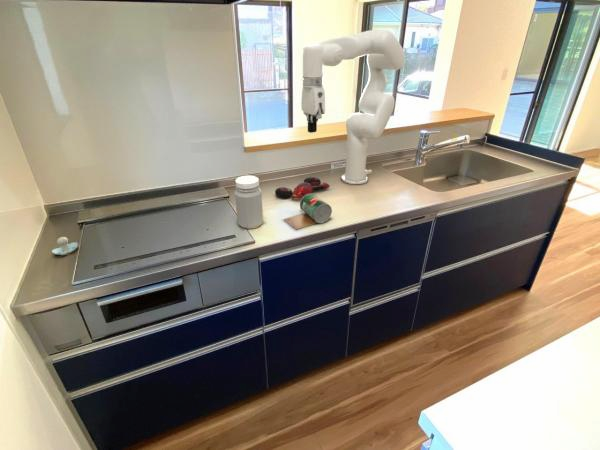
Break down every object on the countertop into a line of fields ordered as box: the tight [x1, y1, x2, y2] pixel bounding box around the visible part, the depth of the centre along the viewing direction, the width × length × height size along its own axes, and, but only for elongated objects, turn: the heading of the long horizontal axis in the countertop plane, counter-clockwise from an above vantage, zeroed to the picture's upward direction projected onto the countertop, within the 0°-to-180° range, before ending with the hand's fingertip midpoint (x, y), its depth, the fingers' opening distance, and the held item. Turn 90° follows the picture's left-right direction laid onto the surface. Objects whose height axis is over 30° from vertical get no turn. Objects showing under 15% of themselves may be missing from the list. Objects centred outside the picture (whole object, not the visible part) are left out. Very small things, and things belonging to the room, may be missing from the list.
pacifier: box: [51, 236, 79, 256], centre depth 113 cm, size 7×6×6 cm
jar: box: [234, 174, 264, 230], centre depth 127 cm, size 10×10×18 cm
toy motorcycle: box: [274, 176, 330, 200], centre depth 154 cm, size 25×5×16 cm
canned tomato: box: [299, 193, 333, 224], centre depth 133 cm, size 8×8×11 cm
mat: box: [283, 212, 332, 231], centre depth 134 cm, size 16×9×1 cm, turn 123°
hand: (312, 131), depth 136 cm, fingers closed
